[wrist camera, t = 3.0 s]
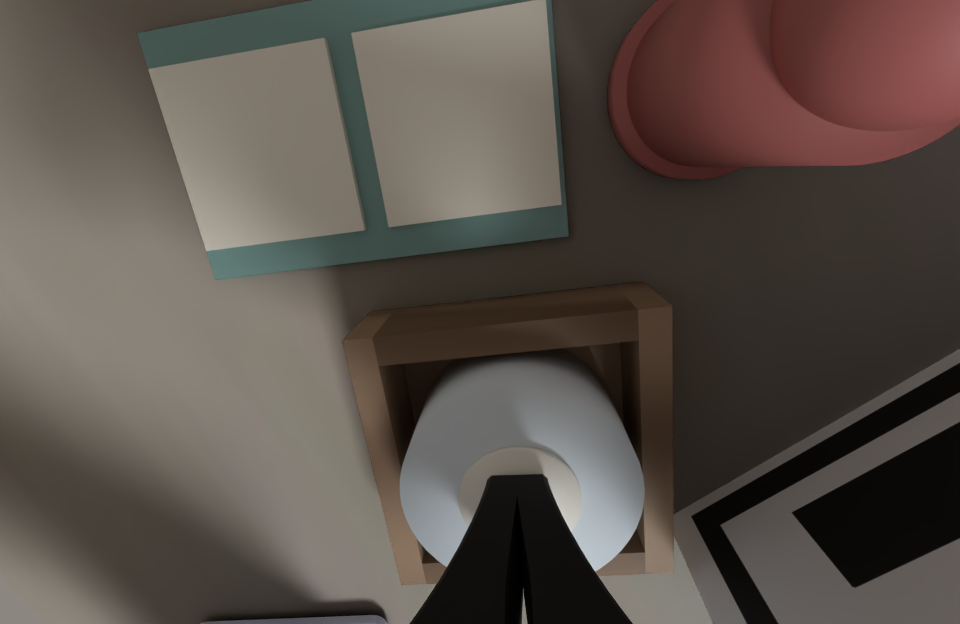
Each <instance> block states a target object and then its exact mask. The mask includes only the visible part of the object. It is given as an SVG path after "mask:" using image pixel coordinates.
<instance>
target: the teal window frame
mask: <svg viewBox="0 0 960 624" xmlns="http://www.w3.org/2000/svg"><path fill="white" fill-rule="evenodd" d="M137 36H138V40H139V43H140V46H141V49H142V52H143V55H144V58H145V61H146V65H147V68H148V71H149V74H150V77H151V80H152V83H153V86H154V90H155V93H156V96H157V99H158V102H159V105H160V108H161V111H162V115H163V118H164V121H165V124H166V127H167V130H168V133H169V136H170V140H171V143H172V146H173V149H174V152H175V155H176V158H177V161H178V165H179V168H180V171H181V174H182V177H183V180H184V183H185V186H186V190H187V193H188V196H189V199H190V202H191V205H192V208H193V211H194V215H195V218H196V221H197V224H198V227H199V230H200V233H201V236H202V239H203V243H204V246H205V249H206V252H207V255H208V258H209V261H210V264H211V268H212V271H213V274H214V277H215V280H219V279H227V278H235V277H243V276H251V275H259V274H267V273H275V272H283V271H292V270H300V269H308V268H316V267H324V266H332V265H340V264H348V263H356V262H365V261H373V260H381V259H389V258H397V257H405V256H413V255H421V254H429V253H438V252H446V251H454V250H462V249H470V248H478V247H486V246H494V245H502V244H511V243H519V242H527V241H535V240H543V239H551V238H559V237H567V236H569V232H568V218H567V205H566V191H565V178H564V164H563V150H562V137H561V123H560V110H559V96H558V83H557V69H556V56H555V42H554V29H553V15H552V1H551V0H310V1H305V2H300V3H294V4H289V5H284V6H278V7H273V8H268V9H262V10H257V11H252V12H246V13H241V14H236V15H230V16H225V17H220V18H214V19H209V20H204V21H198V22H193V23H188V24H182V25H177V26H172V27H166V28H161V29H156V30H150V31H145V32H140V33H137Z"/></svg>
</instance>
